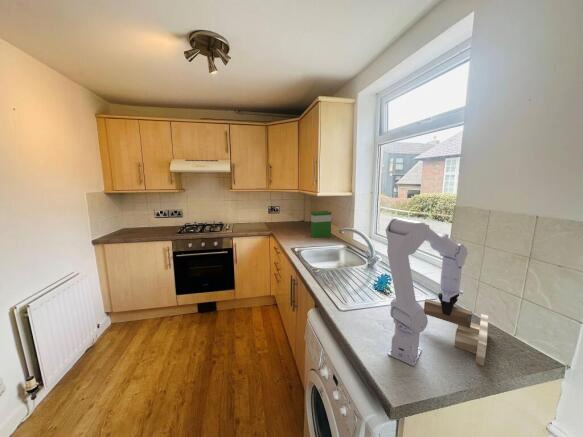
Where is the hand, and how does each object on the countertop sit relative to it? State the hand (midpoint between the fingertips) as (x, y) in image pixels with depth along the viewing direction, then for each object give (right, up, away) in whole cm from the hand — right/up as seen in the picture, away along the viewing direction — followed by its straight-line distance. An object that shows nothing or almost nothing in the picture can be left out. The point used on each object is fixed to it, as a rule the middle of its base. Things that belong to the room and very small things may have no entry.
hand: (446, 312), depth 87 cm
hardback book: (-27, +16, +150) cm, 153 cm away
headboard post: (+6, -9, -3) cm, 11 cm away
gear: (-9, -3, +37) cm, 39 cm away
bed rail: (0, -3, +1) cm, 3 cm away
